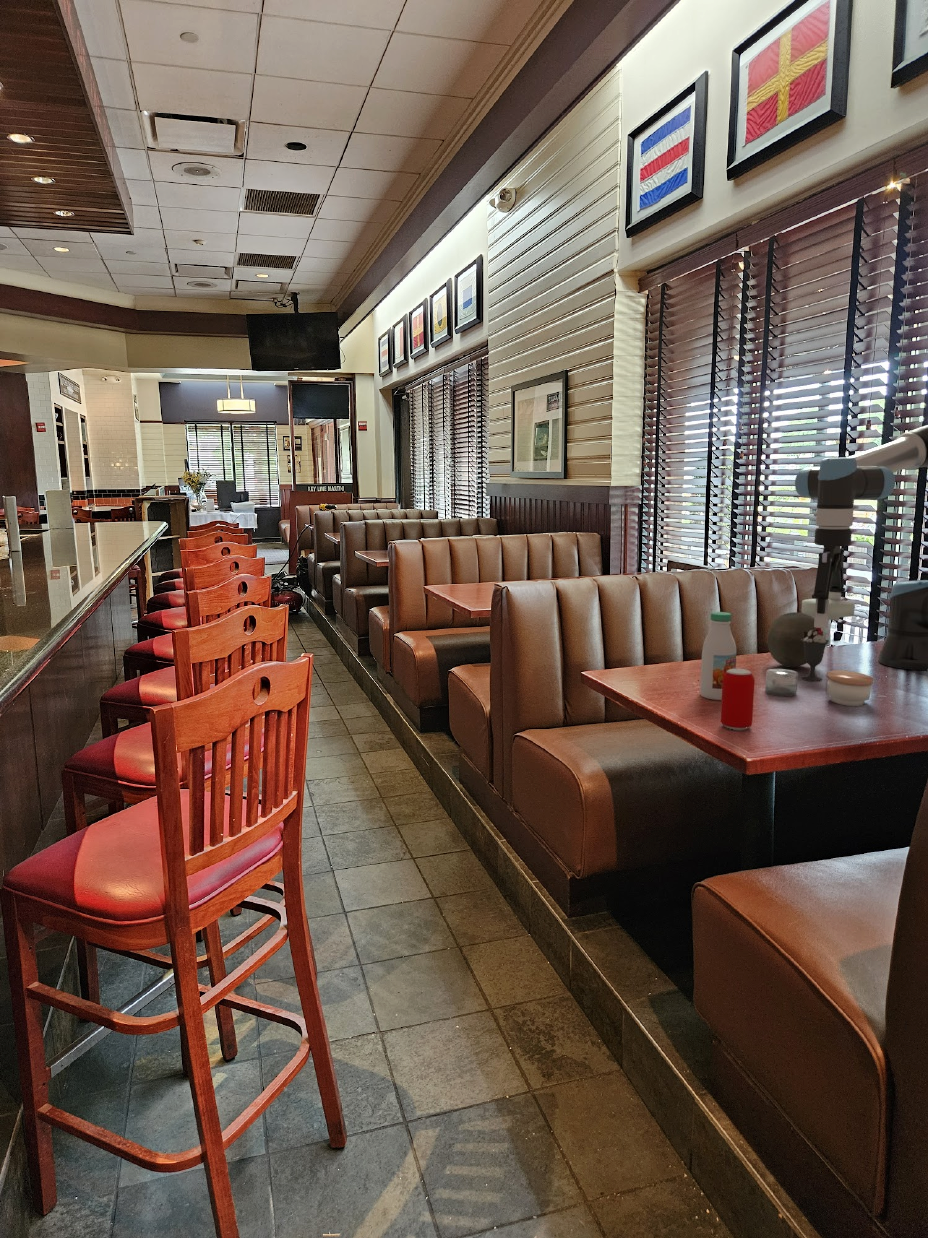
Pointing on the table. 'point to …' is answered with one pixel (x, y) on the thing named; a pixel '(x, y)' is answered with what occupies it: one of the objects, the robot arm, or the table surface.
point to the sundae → (813, 651)
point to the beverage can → (737, 699)
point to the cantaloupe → (789, 638)
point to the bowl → (848, 687)
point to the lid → (830, 607)
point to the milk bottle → (717, 655)
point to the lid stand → (781, 682)
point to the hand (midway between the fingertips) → (826, 623)
